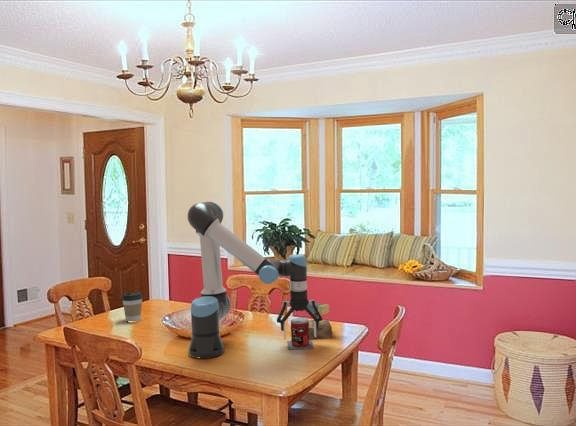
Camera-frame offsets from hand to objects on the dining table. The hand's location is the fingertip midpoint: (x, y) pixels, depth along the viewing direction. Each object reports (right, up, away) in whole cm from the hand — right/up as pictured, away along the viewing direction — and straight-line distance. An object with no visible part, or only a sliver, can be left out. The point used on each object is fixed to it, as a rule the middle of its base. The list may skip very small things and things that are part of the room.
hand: (300, 337), depth 223 cm
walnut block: (+8, -3, +16) cm, 18 cm away
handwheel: (+8, +3, +15) cm, 18 cm away
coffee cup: (-89, -4, +49) cm, 102 cm away
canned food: (0, -4, 0) cm, 4 cm away
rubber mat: (0, -4, 0) cm, 4 cm away
